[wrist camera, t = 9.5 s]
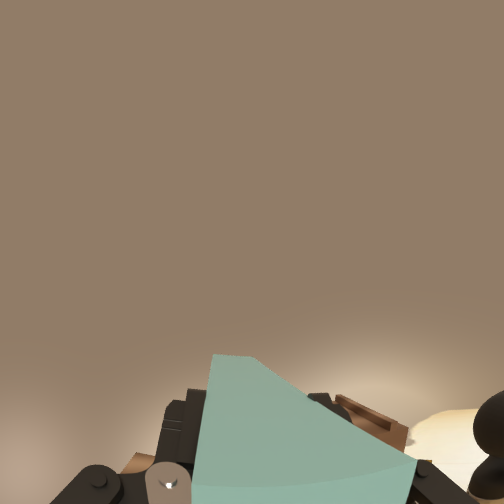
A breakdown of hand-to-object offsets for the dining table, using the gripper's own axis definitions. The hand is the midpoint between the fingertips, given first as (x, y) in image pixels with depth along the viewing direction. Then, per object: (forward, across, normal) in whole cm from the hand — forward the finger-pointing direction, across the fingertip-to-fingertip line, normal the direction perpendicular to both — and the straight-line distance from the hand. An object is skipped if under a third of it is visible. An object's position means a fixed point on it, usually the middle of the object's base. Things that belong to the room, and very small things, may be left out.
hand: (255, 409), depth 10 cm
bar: (+3, 0, +6) cm, 7 cm away
